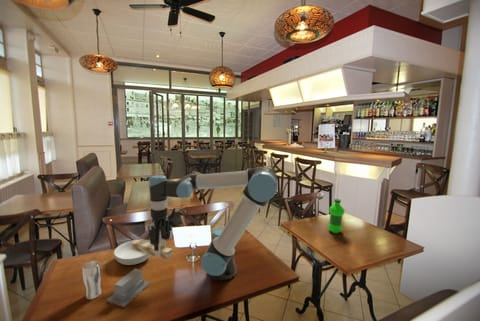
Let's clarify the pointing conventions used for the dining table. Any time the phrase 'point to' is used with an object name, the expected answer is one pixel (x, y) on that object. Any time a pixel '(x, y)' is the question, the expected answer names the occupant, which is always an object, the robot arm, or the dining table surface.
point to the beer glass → (92, 279)
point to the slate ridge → (128, 288)
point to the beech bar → (151, 249)
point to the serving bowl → (130, 254)
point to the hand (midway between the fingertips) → (160, 253)
